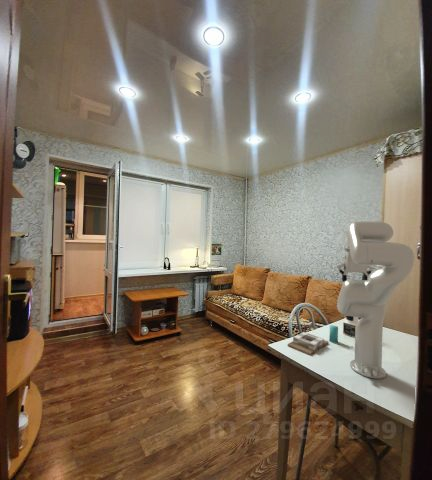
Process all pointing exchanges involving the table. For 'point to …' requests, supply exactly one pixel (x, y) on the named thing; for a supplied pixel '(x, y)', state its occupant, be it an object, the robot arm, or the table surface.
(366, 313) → the robot arm
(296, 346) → the socket board
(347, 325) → the medicine bottle
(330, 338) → the peg
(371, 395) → the table surface
